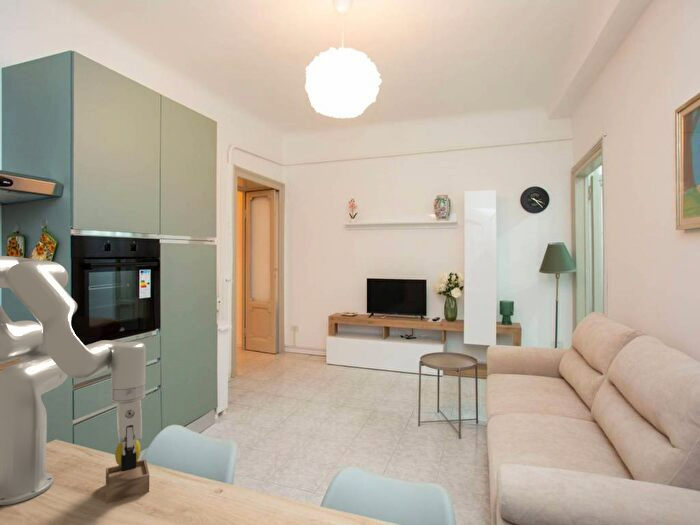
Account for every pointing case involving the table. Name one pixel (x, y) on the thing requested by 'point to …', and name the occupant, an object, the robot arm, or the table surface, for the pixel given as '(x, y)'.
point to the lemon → (119, 452)
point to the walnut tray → (126, 481)
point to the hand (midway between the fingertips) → (127, 463)
